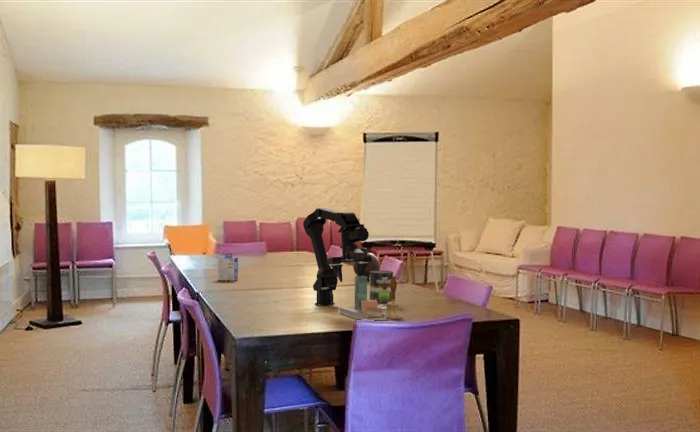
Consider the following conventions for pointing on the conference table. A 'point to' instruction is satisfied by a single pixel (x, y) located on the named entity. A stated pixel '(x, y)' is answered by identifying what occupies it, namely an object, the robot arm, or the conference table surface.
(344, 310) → the lane board
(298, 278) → the conference table surface
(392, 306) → the wooden handled brush
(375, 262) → the wooden sphere
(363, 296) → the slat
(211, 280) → the conference table surface
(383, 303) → the coffee can
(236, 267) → the ink cartridge box
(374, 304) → the cube
